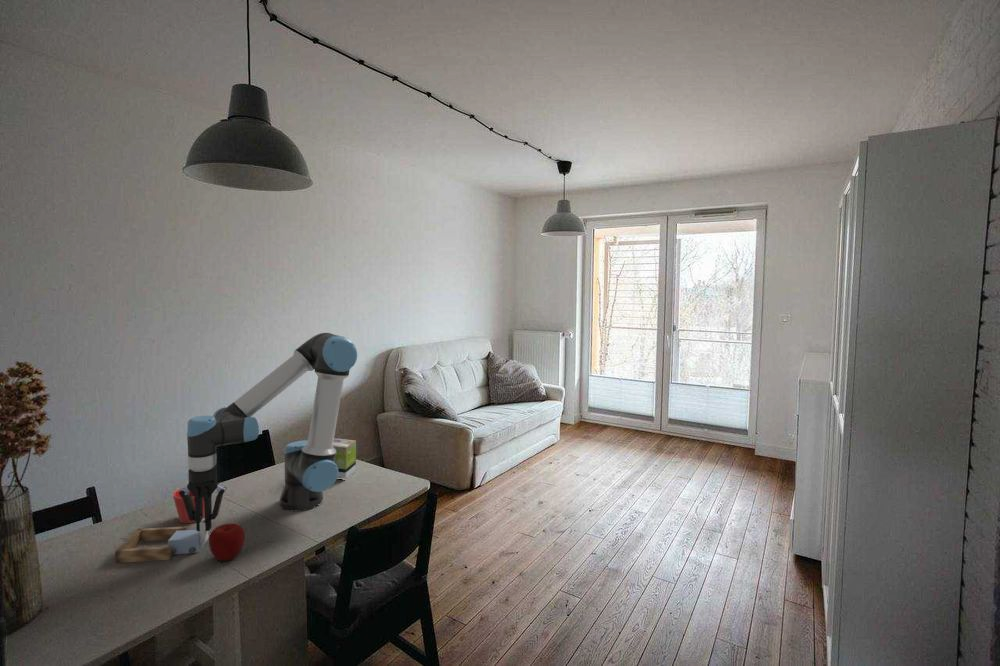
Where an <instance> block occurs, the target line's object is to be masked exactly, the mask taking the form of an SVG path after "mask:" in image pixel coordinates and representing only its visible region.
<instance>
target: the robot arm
mask: <svg viewBox="0 0 1000 666" xmlns="http://www.w3.org/2000/svg"><path fill="white" fill-rule="evenodd" d="M357 359H358V350H357V347H356V345H355V343H353V341H351V340H350V339H348V338H347V337H345V336H341V335H337V334H334V333H331V332H321V333H318V334H316V335H313V336H312V337H311V338H309V339H308V340H306V341H305V342H303V343H302V344H300V346H299V347H297V348H296V349H295V350H294V351H293V355H292V356H290V357H288V359H287V360H285V361H284V362H283V363H282V364H280V365H279V366H278V367H276V368H275V369H274V370H273V371H271V372H270V373H269V374H267V376H265V377H264V378H262V379H261V380H259V382H257V383H256V384H255V385H253V386H252V387H250V389H249V390H247V391H245V393H243V394H242V395H241V396H239V397H238V398H237V399H236V400H234V401H233V402H231V403H230V404H229V405H228V406H224V407H220V408H218V409H216V411H215V412H214V413H213V414H212V415H198V416H195V417H194V416H193V417H192V418H190V419H189V420H188V422H187V429H186V430H187V432H186V440H187V467H188V474H187V475H188V476H187V477H188V484H187V485H186V488H185V487H182V488H183V489H182V488H181V489H182V490H181V491H180V492H179V495H180V496H181V497H182V498H183V501H184V504H185V507H186V511H187V514H188V517H189V520H191V521H192V520H194V521H196V522H195V523H196V524H195V525H196V529H195V530H197V532H198V531H200V543H204V544H205V543H206V542H207V541H209V532H210V530H211V529H212V527H213V526H212V525H213V524H212V520H215V519H216V518H217V517H218V516H219V512H220V508H221V504H222V500H223V497H224V493H225V492H226V490H228V489H227V486H221V485H220V483H219V481H218V479H217V478H218V473H217V469H218V468H217V447H221V446H226V445H232V444H240V443H247V442H250V441H255V440H256V439H258V437H259V433H260V429H259V428H260V427H259V422H258V419H257V418H256V417H255V416H253V415H255V414H257V412H259V411H260V410H261V409H262V408H263V407H265V406H267V404H269V403H270V402H272V400H273V399H275V398H276V397H277V396H278V395H280V394H281V393H282V392H284V390H286V389H287V388H288V387H290V386H291V385H292V384H293V383H295V382H296V381H297V380H298V379H300V378H301V377H302V376H303V375H304V374H306V373H307V372H312V371H314V373H315V375H317V381H316V388H315V393H314V399H313V407H312V412H311V417H310V418H311V419H310V425H309V431H308V436H307V437H308V438H307V440H306V439H304V440H296V441H294V442H293V441H292V442H290V443H288V444H286V445H285V447H284V453H283V456H284V486H283V488H282V491H281V493H280V494H281V495H280V498H279V506H280V508H281V509H283V510H286V511H290V510H293V511H292V512H296V511H295V510H301V511H306V510H305V509H307V510H310V509H309V508H311V509H313V508H312V507H314V506H316V505H318V504H320V503H321V502H322V500H323V501H324V494H323V493H324V491H326V490H328V489H330V487H331V486H333V485H334V484H335V482H336V481H337V477H338V467H337V465H336V464H335V457H336V450H335V449H334V447H333V441H334V438H335V434H336V428H337V423H338V417H339V416H338V415H339V409H340V404H341V398H342V397H341V396H342V392H343V391H342V390H343V385H344V381H345V379H346V378H348V377H349V376H350V371H351V369H352V368H353V367H354V365H355V364H356V362H357ZM215 491H216V494H217V495H216V497H215V500H214V505H213V508H212V498H213V493H215ZM190 492H191V493H192V494H193V495H194V500H195V508H194V505H193V502H192V499H191V495H190ZM203 497H204V507H205V518H204V519H202V518H203V501H202V498H203ZM322 503H323V502H322ZM322 503H321V504H322ZM321 504H320V505H321ZM318 506H319V505H318ZM316 507H317V506H316ZM314 508H315V507H314Z"/></svg>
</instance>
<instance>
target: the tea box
mask: <svg viewBox="0 0 1000 666" xmlns="http://www.w3.org/2000/svg"><path fill="white" fill-rule="evenodd" d="M333 447H334V449H335V450H336V457H335V464H336V465H337V467H338V477H337V478H346V477H348V476H349V475H350V474H351V473H352V472H353V471H355V470H356V471H357V469H356V468H357V465H356V464H357V440H354V439H347V438H336V437H334V441H333Z"/></svg>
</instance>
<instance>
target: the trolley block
mask: <svg viewBox="0 0 1000 666" xmlns="http://www.w3.org/2000/svg"><path fill="white" fill-rule="evenodd" d="M167 542H168V544H167V547H169V546H171V556H172V555H184V554H198V553H199V552H200V550H201V549H202V547H203V546H204V545H205V543H200V531H198V532H197V529H188V530H181V531H176V532H175V533H174V534H173V536H172V537H171V538H170V539H169V540H167Z"/></svg>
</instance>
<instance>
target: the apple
mask: <svg viewBox="0 0 1000 666" xmlns="http://www.w3.org/2000/svg"><path fill="white" fill-rule="evenodd" d="M245 535H246V532H245V530H244V527H243V526H241V525H240V524H238V523H233V522H232V523H231V522H230V523H225V524H221V525H219V526H216V527H215V528H214V529H212V531H211V532H210V534H209V535H208V537H209V538H208V546H209V549H210V552H211V554H212V556H213V557H214V558H215V559H216V560H218V561H219V562H229V561H230V560H232V559H234V558H235V557H237V556H238V555H239V554H240V552H241V551H242V548H243V547H244V544H245V539H246V536H245Z"/></svg>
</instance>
